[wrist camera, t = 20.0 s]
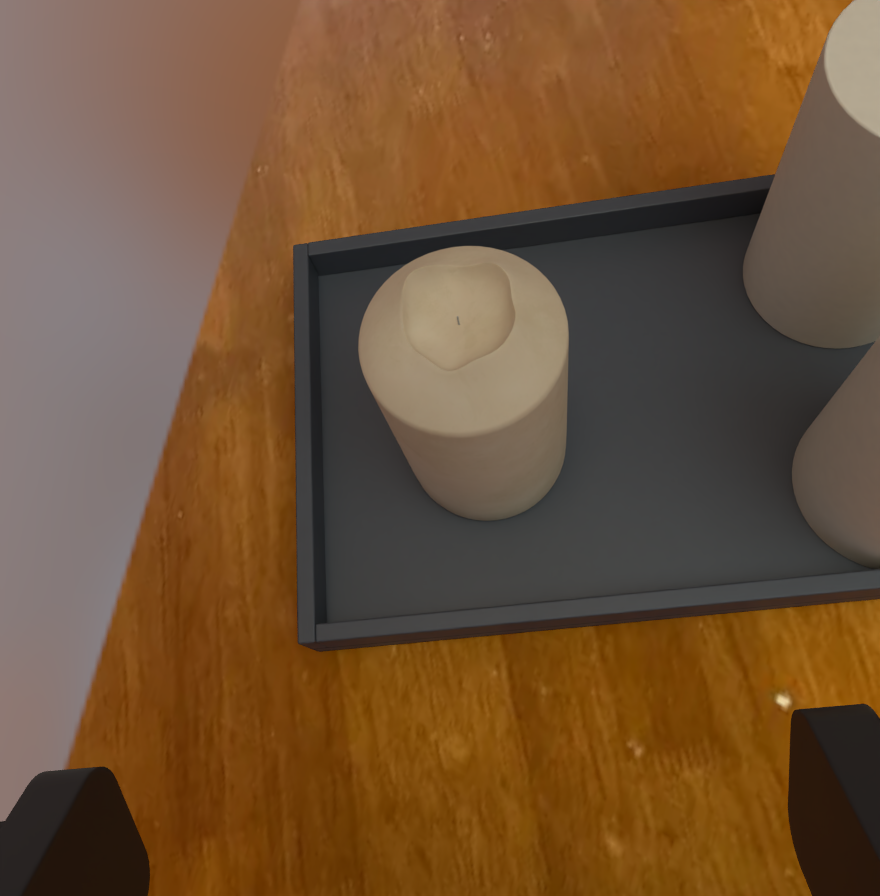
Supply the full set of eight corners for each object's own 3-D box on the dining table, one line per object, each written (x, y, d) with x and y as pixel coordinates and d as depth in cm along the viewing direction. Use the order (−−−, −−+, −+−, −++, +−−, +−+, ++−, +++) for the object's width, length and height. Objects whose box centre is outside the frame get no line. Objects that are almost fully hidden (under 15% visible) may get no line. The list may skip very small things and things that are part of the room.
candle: (381, 448, 30) (300, 311, 20) (491, 350, 30) (461, 175, 21) (484, 555, 28) (447, 458, 18) (599, 448, 28) (618, 302, 19)
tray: (317, 652, 28) (297, 643, 26) (309, 276, 34) (292, 244, 31) (1094, 579, 26) (1143, 563, 24) (950, 185, 31) (980, 143, 29)
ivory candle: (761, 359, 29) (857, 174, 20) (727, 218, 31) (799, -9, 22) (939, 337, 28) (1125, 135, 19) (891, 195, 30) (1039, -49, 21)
